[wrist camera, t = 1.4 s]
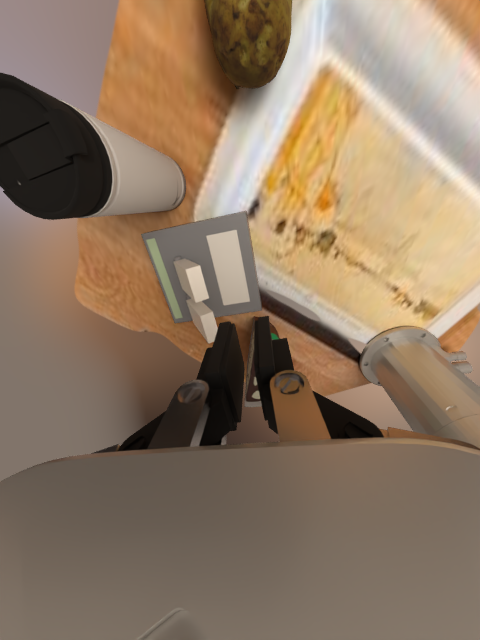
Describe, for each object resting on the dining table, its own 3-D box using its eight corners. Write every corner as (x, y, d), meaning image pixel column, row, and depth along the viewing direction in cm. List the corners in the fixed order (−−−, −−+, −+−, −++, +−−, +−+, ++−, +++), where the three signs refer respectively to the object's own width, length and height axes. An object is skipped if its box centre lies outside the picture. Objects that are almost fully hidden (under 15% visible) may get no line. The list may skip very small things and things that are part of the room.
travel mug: (195, 202, 29) (105, 201, 12) (151, 216, 30) (9, 234, 13) (178, 145, 27) (25, 34, 9) (130, 163, 28) (-89, 94, 10)
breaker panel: (246, 210, 29) (245, 211, 27) (261, 302, 36) (261, 310, 33) (150, 231, 31) (140, 234, 29) (180, 314, 38) (174, 323, 35)
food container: (278, 369, 42) (284, 414, 33) (246, 365, 42) (244, 409, 33) (292, 312, 36) (303, 348, 27) (255, 308, 36) (254, 342, 27)
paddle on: (182, 255, 30) (199, 262, 23) (191, 285, 32) (209, 300, 25) (170, 258, 29) (184, 266, 22) (180, 288, 31) (196, 305, 24)
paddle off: (193, 292, 32) (212, 309, 25) (201, 318, 34) (221, 340, 27) (183, 295, 32) (199, 314, 25) (191, 321, 34) (209, 345, 27)
